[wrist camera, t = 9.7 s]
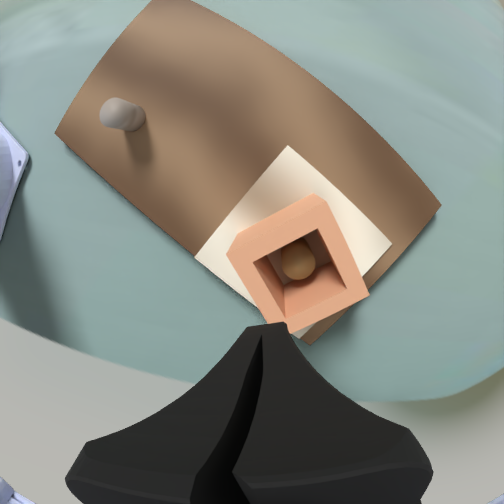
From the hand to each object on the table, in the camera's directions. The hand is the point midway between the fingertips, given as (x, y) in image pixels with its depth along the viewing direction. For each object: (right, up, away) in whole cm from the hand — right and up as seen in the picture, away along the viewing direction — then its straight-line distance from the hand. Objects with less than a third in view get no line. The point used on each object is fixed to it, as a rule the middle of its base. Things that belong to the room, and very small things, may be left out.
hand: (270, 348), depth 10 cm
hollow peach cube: (+2, +3, +6) cm, 7 cm away
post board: (-2, +9, +6) cm, 11 cm away
